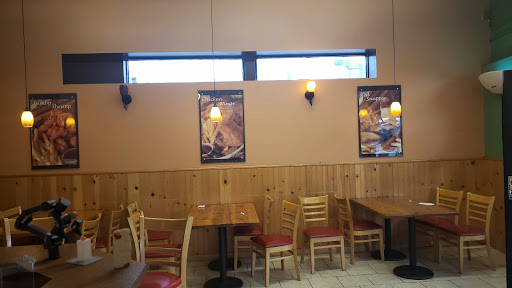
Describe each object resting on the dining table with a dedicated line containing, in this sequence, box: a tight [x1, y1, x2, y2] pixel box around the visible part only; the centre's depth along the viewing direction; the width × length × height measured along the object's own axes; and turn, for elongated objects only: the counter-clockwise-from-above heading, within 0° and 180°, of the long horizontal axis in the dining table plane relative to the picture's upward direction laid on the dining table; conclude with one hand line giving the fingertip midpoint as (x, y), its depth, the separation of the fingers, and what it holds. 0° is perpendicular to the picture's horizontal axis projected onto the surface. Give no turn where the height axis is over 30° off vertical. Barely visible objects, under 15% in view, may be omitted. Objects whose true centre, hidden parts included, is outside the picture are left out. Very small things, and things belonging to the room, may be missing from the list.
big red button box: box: [76, 236, 93, 261], centre depth 208 cm, size 5×5×12 cm
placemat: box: [65, 255, 105, 267], centre depth 208 cm, size 16×12×1 cm
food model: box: [112, 228, 132, 269], centre depth 195 cm, size 10×7×20 cm
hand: (75, 237), depth 210 cm, fingers open, 9 cm apart
